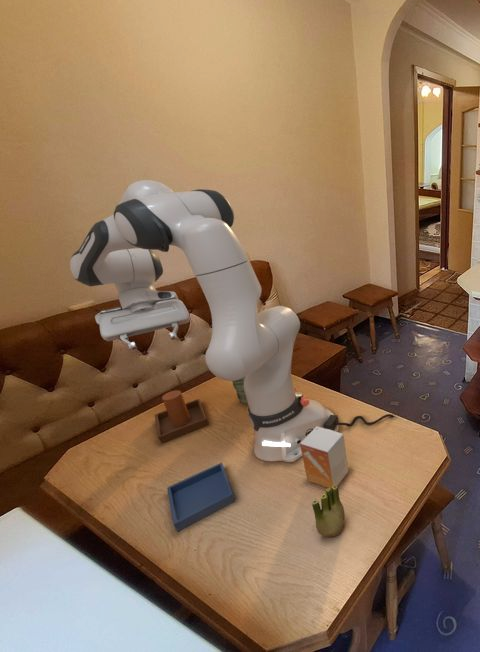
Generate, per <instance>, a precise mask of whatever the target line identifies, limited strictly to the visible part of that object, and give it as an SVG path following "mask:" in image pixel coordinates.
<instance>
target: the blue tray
mask: <svg viewBox="0 0 480 652" xmlns="http://www.w3.org/2000/svg"><path fill="white" fill-rule="evenodd" d="M166 489H167V494H168V499H169V505H170V512H171V518H172V523H173V527H174V528H175V531H176V532H177V533H178V532H180V531H182V530H183V529H185V528H187V527H189V526H192V525H193V524H195V523H197V522H199V521H200V520H202V519H204V518H207V517H208V516H211V515H212V514H214V513H216V512H218V511H219V510H221V509H223V508H225V507H227V506H229V505H231V504H232V503H234V502H236V499H235V495H234V493H233V490H232V487H231V485H230V482H229V478H228V476H227V473H226V470H225V467H224V465H223V462H222V461H221V462H220V463H218V464H215V465H213V466H211V467H208V468H207V469H205V470H202V471H199V472H198V473H196V474H193V475H191V476H189V477H187V478H185V479H183V480H180V481H178V482H176V483H173V484H172V485H170V486H168V487H166Z"/></svg>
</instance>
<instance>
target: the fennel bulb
mask: <svg viewBox="0 0 480 652" xmlns="http://www.w3.org/2000/svg"><path fill="white" fill-rule="evenodd" d="M339 492H340V491H339V484H338V485H334V486H332V487H331V488H327V487H326V488H325V492H324V493H322V494H321V497H320V502H319V500H318V499H316V498H315V499H313V500H312V502H311V506H312V509H313V513H314V517H315V518H314V519H315V528H316V530H317V533H318V535H320V536H322V537H324V538H326V537H328V538H333V537H336V536H338V535H339V534H340V533H342V531H343V530H344V528H345V521H346V515H345V508H344V505H343V503H342V501H341V498H340V493H339ZM320 503H321V505H320Z"/></svg>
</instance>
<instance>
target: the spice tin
mask: <svg viewBox="0 0 480 652" xmlns="http://www.w3.org/2000/svg"><path fill="white" fill-rule="evenodd" d="M161 399H162V402H163V404H164V407H165V410H167V412H168V415H169V417H170V420H171V422H172V425H173V426H174V427H180V426H183V425H185V424H187V423H188V422H189V421H190V420H191V418H190V415H189V412H188V410H187V407H186V402H185V399H184V396H183V394H182V391H181V390H177V389H176V390H171V391H168V392H166V393H165V394H163V395H162V397H161Z"/></svg>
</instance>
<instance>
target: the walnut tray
mask: <svg viewBox="0 0 480 652" xmlns="http://www.w3.org/2000/svg"><path fill="white" fill-rule="evenodd" d="M185 404H186V407H187V410H188V412H189V415H190V418H191V420H190V421H189V422H188V423H187V424H185V425H183V426H180V427H174V426H173V425H172V422H171V420H170V417H169V415H168V412H167V409H165V410H163V411H160V412H157V413H155V414H154V418H155V419H154V420H155V425H156V430H157V431H156V432H157V437H158V440H159V442H160V444H161V445H162V444H165V443H167V442H169V441H172V440H175V439H177V438H180V437H182V436H185V435H187V434H189V433H192V432H194V431H197V430H200V429H202V428H205V427H207V426H209V423H208V419H207V416H206V414H205V411H204V408H203V405H202V403H201V400H200V398H197V399H195V400H191V401H189V402H185Z"/></svg>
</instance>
